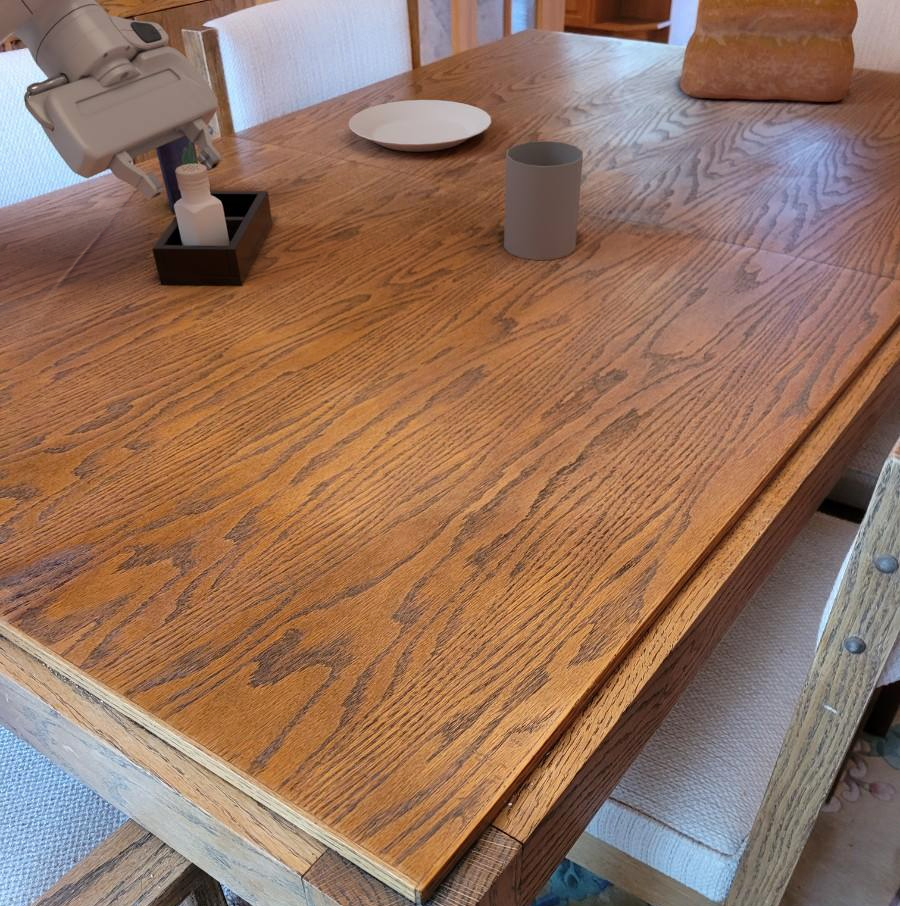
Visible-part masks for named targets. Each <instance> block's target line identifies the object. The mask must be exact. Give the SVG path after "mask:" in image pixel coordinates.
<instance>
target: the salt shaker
mask: <svg viewBox="0 0 900 906" xmlns="http://www.w3.org/2000/svg"><path fill="white" fill-rule="evenodd" d="M175 172H176V177H177V182H178V186H179V189H180V191H181V196H182V198H181V199H180V200H178V201H177V202H176V203H175V204H174V209H175V213H176V214H175V216H176V218H177V222H178V227H179V231H180V236H181V240H182V245H200V246H228V245H229V244H230V243H229V238H228V232H227V227H226V221H225V216H224V210H223V205H222V203H221V201H220V200H219V199H217V198H216V197H214V196H212V195H211V194H210V191H211V184H210V179H209V174H208V173H209V172H208V171H207V168H206V166H204V165H202V164H201V163H198V164H186V165H182V166H180V167H177V168H176V170H175Z"/></svg>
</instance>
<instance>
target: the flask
mask: <svg viewBox="0 0 900 906" xmlns="http://www.w3.org/2000/svg"><path fill="white" fill-rule="evenodd" d="M195 144H196V143H195V142H193V143H192V142H191V141H190V140H189V139H188V137H187V136H186V135H185V136H183V137H180V138H178V139H176V140H174V141H171V142H169V143H167V144H164V145H162V146H160V147H158V148H155V150H156V155H157V160H158V163H159V168H160V171H161V175H162V180H163V185H164V187H165V191H166V195H167V196H166V197H167V200H168V205H169V209H170V213H171V214H172V215H176V213H175V209H174V204H175V203H176V202H177V201H178V200H180V199H181V198H182V196H181V191H180V189H179V186H178V182H177V177H176V172H175V170H176V168H177V167H180V166H182V165H186V164H199V161H198V160H197V158H198V156H197V151H196V145H195Z"/></svg>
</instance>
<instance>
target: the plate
mask: <svg viewBox="0 0 900 906" xmlns="http://www.w3.org/2000/svg"><path fill="white" fill-rule="evenodd" d="M491 125H492V117H491V116H490V114H488V112H487V111H485V110H484V109H481V108H479V107H477V106H473V105H471V104H468V103H467V104H466V103H462V102H457V101H450V100H442V99H441V100H439V99H417V100H416V99H413V100H411V99H410V100H400V101H392V102H387V103H382V104H378V105H377V104H376V105H374V106H371V107H368V108H364V109H363V110H361V111H359V112H357V113H355V114H354V115H353V116H352V117H350V119H349V122H348V127H349V128H350V130H351V131H352V132H353V133H355V134H356V135H357V136H359V137H362V138H364V139H366V140H369V141H371V142H374V143H375V144H377V145H379V146H382V147H383V148H387V149H390V150H395V151H402V152H409V153H410V152H412V153H413V152H414V153H415V152H417V153H423V152H434V151H441V150H446V149H449V148H450V149H451V148H453V147H456V146H459V145H460V144H463V143H464V142H466V141H467V140H469V139H471V138H473V137H475V136H478V135H480V134H482V133H483V132H484V131H486V130H488V129H489V128H490V126H491Z"/></svg>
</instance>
